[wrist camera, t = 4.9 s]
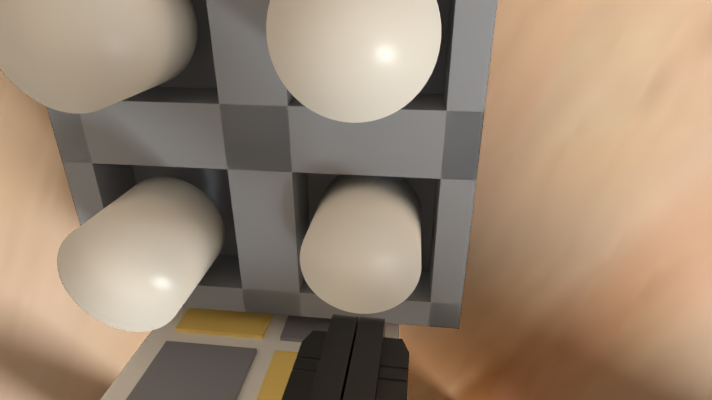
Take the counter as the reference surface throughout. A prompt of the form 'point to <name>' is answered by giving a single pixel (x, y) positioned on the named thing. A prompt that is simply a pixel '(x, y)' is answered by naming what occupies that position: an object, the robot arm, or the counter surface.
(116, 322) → the button back left
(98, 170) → the button board
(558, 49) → the counter surface
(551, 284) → the counter surface
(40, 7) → the button front left
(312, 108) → the button front right
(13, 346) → the counter surface
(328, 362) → the robot arm
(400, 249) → the button back right
